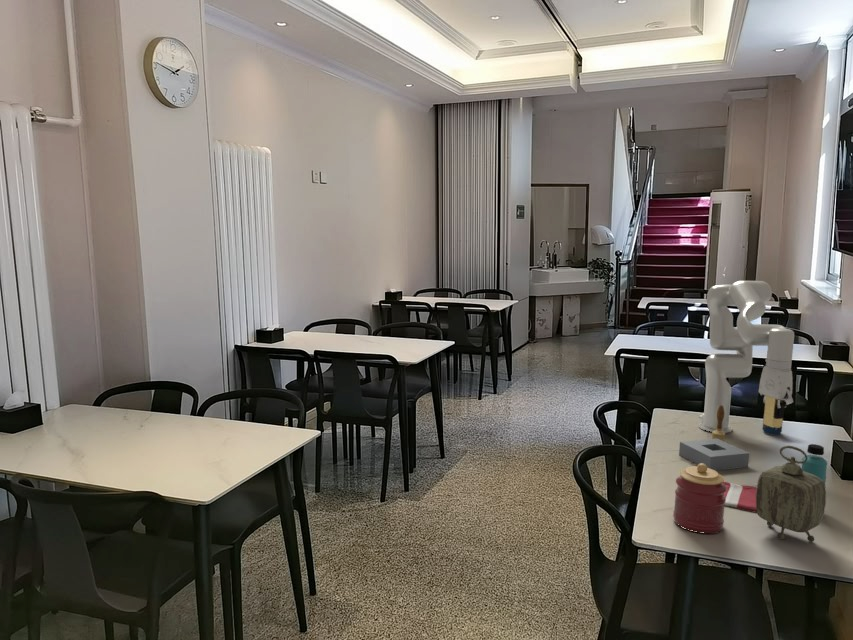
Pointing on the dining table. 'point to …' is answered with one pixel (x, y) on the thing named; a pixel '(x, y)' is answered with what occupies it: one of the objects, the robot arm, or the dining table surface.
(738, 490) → the dish towel
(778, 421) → the wooden square peg
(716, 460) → the well block
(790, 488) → the tabletop clock
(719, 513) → the canister
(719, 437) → the hand bell
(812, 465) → the beverage bottle
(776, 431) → the soda can
